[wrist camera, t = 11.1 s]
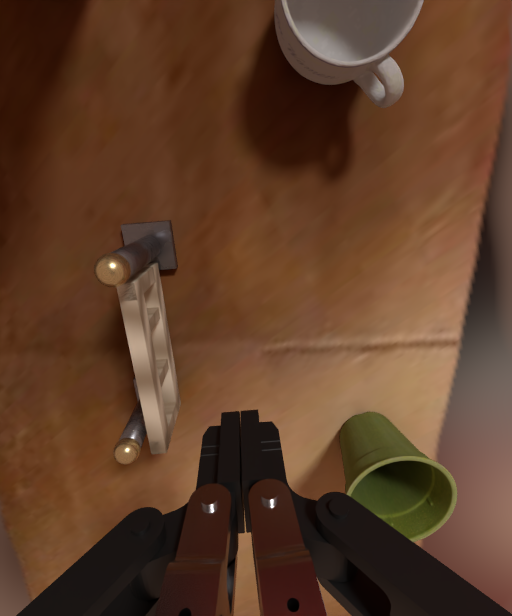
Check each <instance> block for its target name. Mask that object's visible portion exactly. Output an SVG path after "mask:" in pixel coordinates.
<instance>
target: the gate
mask: <svg viewBox="0 0 512 616" xmlns="http://www.w3.org/2000/svg"><path fill="white" fill-rule="evenodd" d="M117 291H118V296H119V301H120V306H121V311H122V315H123V320H124V325H125V330H126V335H127V339H128V344H129V349H130V354H131V359H132V363H133V368H134V373H135V378H136V382H137V387H138V392H139V397H140V402H141V406H142V411H143V416H144V421H145V426H146V430H147V435H148V440H149V445H150V450H151V454H160V453H167V450H168V446H169V443H170V439H171V436H172V433H173V429H174V426H175V422H176V419H177V415H178V412H179V408H180V405H181V401H180V395H179V389H178V383H177V377H176V371H175V365H174V359H173V353H172V347H171V341H170V335H169V329H168V322H167V316H166V310H165V304H164V298H163V292H162V286H161V280H160V274H159V268H158V263H148V264H146V265H145V266H144V267H143V268H141V269H140V270H139V271H138V272H136V273H135V274H134V275H132V276H131V277H130V278H129V279H128V280H127V282H126V283H124V284H123V285H121V286H118V287H117Z"/></svg>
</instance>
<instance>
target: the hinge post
mask: <svg viewBox="0 0 512 616" xmlns="http://www.w3.org/2000/svg"><path fill="white" fill-rule="evenodd" d="M121 229H122V234H123V239H124V244H125V246H124V247H121V248H119V249H117V250H115V251H113V252H111V253H107V254H104V255H102V256H101V257H99V258H98V259H97V261H96V262H95V265H94V274H95V276H96V278H97V280H98V281H99V282H100V283H101V284H103V285H105V286H108V287H118V286H121V285H123V284H124V283H126V282H127V280H128V279H129V278H130V277H131V276H132V275H134V274H135V273H136V272H138V271H139V270H140V269H141V268H143V267H144V266H145V265H146V264H148V263H158V268H159V270H165V269H176V268H177V267H178V264H177V258H176V251H175V244H174V238H173V231H172V224H171V220H170V221H157V222H145V223H132V224H123V225H121Z"/></svg>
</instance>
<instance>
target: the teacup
mask: <svg viewBox="0 0 512 616" xmlns="http://www.w3.org/2000/svg"><path fill="white" fill-rule="evenodd" d="M423 1H424V0H275V10H274V16H275V28H276V34H277V38H278V42H279V44H280V47H281V50H282V52H283V54H284V55H285V57H286V59H287V60H288V62H289V63H290V65H291V66H292V67H293V68H294V69H295V70H296V71H297V72H298V73H299V74H301V75H302V76H303V77H305V78H307V79H309V80H311V81H313V82H316V83H319V84H325V85H336V84H341V83H345V82H348V81H351V80H354V82H355V83H356V84H357V85H359V86H360V87H361V89H362V90H363V91H364V92H365V94H366V95H367V96H368V97H369V98H370V100H371V101H372V102H373V103H374V104H376V105H377V106H379V107H381V108H386V107H389V106H391V105H392V104H394V103H395V102H396V101H398V100H399V98H400V97H401V95H402V93H403V88H404V81H403V76H402V73H401V71H400V68H399V66H398V65H397V64H396V62H395V61H394V60H393V59H392V58H391V57H390V56H389V53H390V52H391V51H392V50H393V49H394V48H396V47H397V46H398V44H399V43H400V42H401V41H402V40H403V39H404V38H405V36H406V35H407V34H408V33H409V31H410V30H411V28H412V26H413V25H414V22H415V21H416V19H417V17H418V15H419V12H420V9H421V7H422V4H423ZM373 72H375V73H376V74H377V75H378V76H379V78H380V79H381V81H382V83H383V85H382V84H381V83H380V81H379V80H378V79H377V77H376V76H375V75H374V73H373Z"/></svg>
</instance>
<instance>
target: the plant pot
mask: <svg viewBox="0 0 512 616" xmlns="http://www.w3.org/2000/svg"><path fill="white" fill-rule="evenodd" d="M340 446H341V452H342V459H343V466H344V473H345V480H346V484H345V492H346V495H349V496H350V497H352V498H353V499H355V500H356V501H357V502H359V503H360V504H361V505H363V506H364V507H366V508H367V509H368V510H370V511H371V512H372V513H374V514H375V515H377V516H378V517H379V518H381V519H382V520H383V521H385V522H386V523H387V524H389V525H390V526H392V527H393V528H394V529H396V530H397V531H398V532H400V533H401V534H403V535H404V536H405V537H407V538H408V539H409V540H411V541H412V542H415V541H418V540H421V539H423V538H425V537H427V536H429V535H430V534H432V533H434V532H435V531H436V530H438V529H439V528H440V527H441V526H442V525H443V524H444V523H445V522H446V521H447V520H448V519H449V517H450V515H451V514H452V512H453V510H454V508H455V505H456V500H457V488H456V484H455V481H454V479H453V477H452V475H451V474H450V473H449V471H447V469H446V468H444V467H443V466H442V465H440V464H439V463H437V462H435V461H433V460H431V459H429V458H428V457H427V456H426V455H425V454H423V453H422V452H420V451H419V450H418V449H417V448H416V447H415V446H414V445H413V444H412V443H411V442H410V441H409V440H408V439H407V438H406V437H405V436H404V435H403V434H402V433H401V432H400V431H399V430H398V429H397V428H396V427H395V426H394V425H393V424H392V423H391V422H390V421H389V420H388V419H387V418H386V417H385V416H383V415H381V414H379V413H375V412H366V413H364V414H360V415H355V416H353V417H351V418H350V419H349V420H348V421H347V422H346V423H345V424H344V425H343V427H342V429H341V432H340Z"/></svg>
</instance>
